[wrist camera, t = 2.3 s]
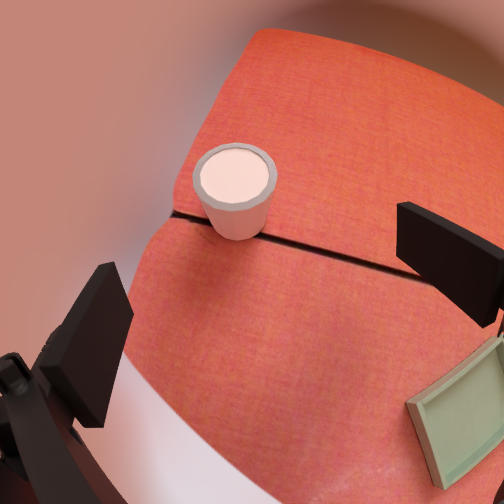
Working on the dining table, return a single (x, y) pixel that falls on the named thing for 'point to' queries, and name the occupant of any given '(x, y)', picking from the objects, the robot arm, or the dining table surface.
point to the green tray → (462, 414)
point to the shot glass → (235, 188)
